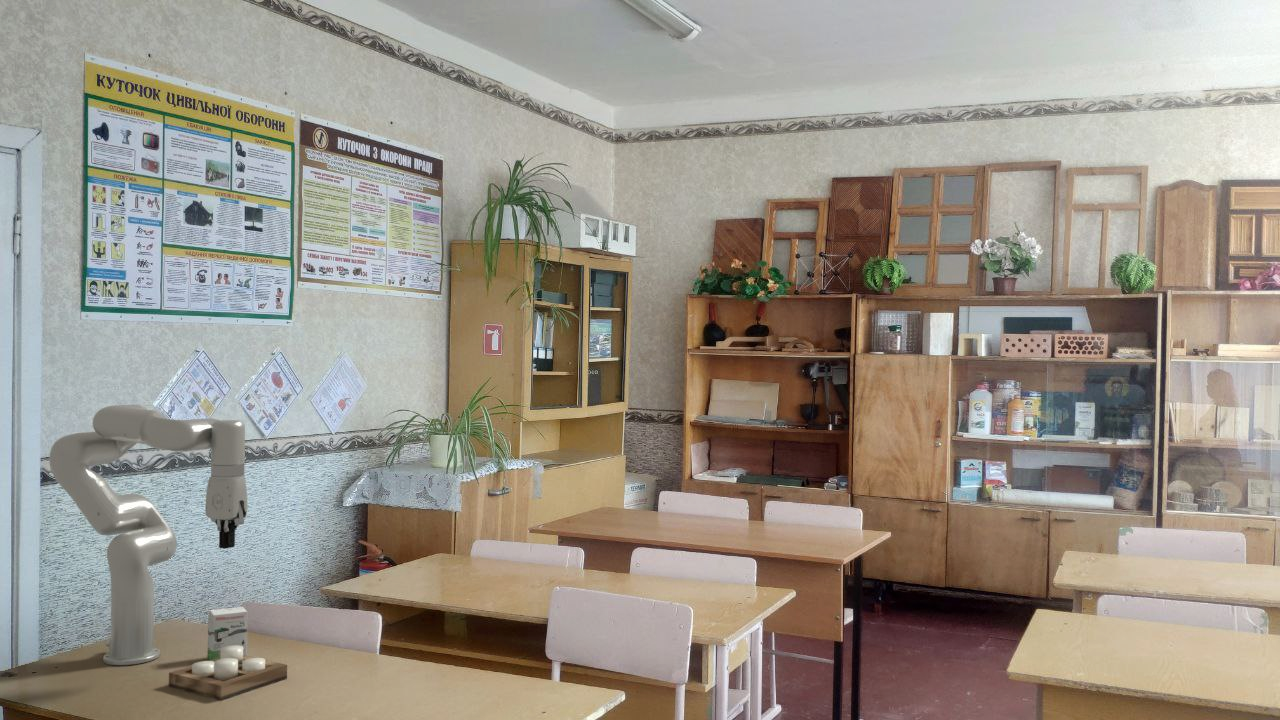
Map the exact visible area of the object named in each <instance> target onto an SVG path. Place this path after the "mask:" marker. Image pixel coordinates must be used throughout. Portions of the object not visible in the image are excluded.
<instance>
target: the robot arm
mask: <svg viewBox="0 0 1280 720" xmlns="http://www.w3.org/2000/svg"><path fill="white" fill-rule="evenodd" d="M92 428H93V429H94V431H90V432H89V431H87V432H76V433H71V434H67V435H66V434H65V436H62V437H60V438H58V439H57V440H56V441H55V442H54V443H53V445H52V446H51V449H50V452H49V466H50V471H51V474H52V475H53V478H54V479H55V481H56V483H58V485H60V487H61V488H62V489H63V490H64V491H65V492H66V493H67V494H68V495H69V497H70V498H71V499H72V500H73V502H74V503H75V505H76V507H77V508H78V509H79V511H80V512H81V514H83V516H84V518H85V519H86V520H87V522H88V523H89V524H90V526H91V527H92V528H93V530H94V531H95V532H96V533H97V534H98V535H101V536H114V535H116V536H114V538H112V540H111V541H110V542H109V544H108V546H107V549H106V559H107V564H108V568H109V575H110V639H109V640H106V641H105V642H104V643H105V644H104V645H105V647H108V649H109V651H108V652H107V653H106V654H104V655H103V658H102V661H103V663H105V664H107V665H111V666H112V665H113V666H131V665H132V666H133V665H138V664H143V663H147V662H151V661H154V660H156V659H158V658H159V657H160V655H161V650H160V649H159V648H156V647H154V617H155V615H154V614H155V613H154V612H155V607H154V606H155V602H154V601H155V591H154V590H155V587H154V580H153V577H152V575H151V573H150V571H149V568H148V567H150V566H153V565H157V564H160V563H164V562H167V561H168V560H170V559H171V558H172V557H173V556H174V555H175V554H176V551H177V548H178V542H177V538H176V535H175V533H174V531H173V530H172V528H171V526H170V525H169V524H168V522H167V521H166V520H165V518H164V517H163V516H162V513H160V511H159V510H158V509H157V507H156V506H155V505H154V504H153V502H152V501H151V500H150V499H149V498H148V497H146V496H145V495H143V494H139V493H126V494H119V493H118V494H117V492H115V491H114V490H113V489H112V487H111V486H110V485H109V483H108V482H107V480H106V479H105V478H104V477H103V476H102V475H100V474H99V473H97V472H96V471H95V470H93V469H91V468H90V467H91V466H96V465H97V466H98V465H105V464H110V463H114V462H116V461H117V460H119V459H120V458H122V457H123V456H124V455H125V454H127V453H128V451H130V450H131V449H132V448H133V447H134V446H136V445H137V444H141V445H146V446H148V447H150V448H153V449H157V450H164V451H170V452H182V453H183V452H191V451H204V450H211V451H210V453H211V454H210V455H211V457H210V464H211V465H210V476H209V478H208V482H207V486H206V495H205V510H204V513H205V516H206V517H207V518H209V519H210V521H211V522H212V523H215V524H216V528H217V532H219V533H218V534H219V535H218V536H219V537H218V542H219V543H218V544H219V545H218V548H219V549H224V550H225V549H230V548H231V549H232V548H235V546H236V531H237V530H238V526H241V525H243V524H245V519H244V518H246V516H247V515H248V492H247V491H248V490H247V485H246V483H247V482H246V477H245V462H246V461H245V459H246V458H245V455H246V454H245V451H246V447H245V446H246V442H245V441H246V427H245V424H244V422H243V421H241V420H236V419H233V420H232V419H231V420H230V419H227V420H226V419H222V420H220V419H215V418H211V417H210V418H208V417H207V418H194V419H193V418H192V419H180V420H179V419H172V418H171V419H170V418H164V416H163V414H162V413H160V412H159V411H157V410H154V409H153V410H152V409H147V408H146V407H144V406H142V405H139V404H119V405H117V404H116V405H108V406H105V407H103V408H100V410H98V411H97V412H96V413H95V414H94V416H93V418H92ZM89 466H90V467H89Z"/></svg>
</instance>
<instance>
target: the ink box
mask: <svg viewBox="0 0 1280 720" xmlns="http://www.w3.org/2000/svg"><path fill="white" fill-rule="evenodd" d="M207 619H208V624H207V625H208V627H207V655H206V656H207V659H208V661H211V660H214V659H217V658H220V651H221V648H223V647H226V646H233V645H238V646H243V655H246V656H248V655H247V654H248V653H247V649H248V647H247V646H248V610H247V609H246V608H245V607H244V606H238V607H229V608H218V609H210V610H209V611H208V618H207Z"/></svg>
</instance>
